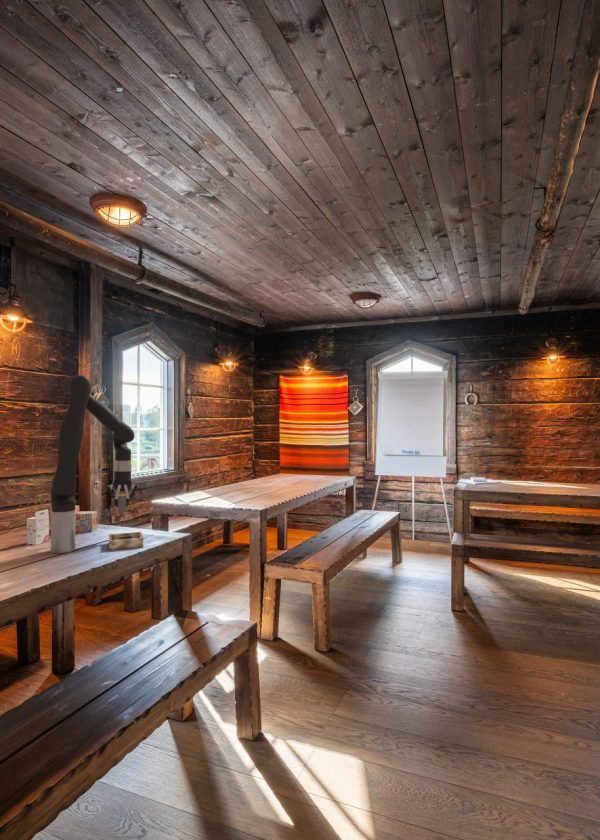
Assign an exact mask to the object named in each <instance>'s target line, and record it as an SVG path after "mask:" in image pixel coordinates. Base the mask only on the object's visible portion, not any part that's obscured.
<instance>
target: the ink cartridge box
mask: <svg viewBox="0 0 600 840" xmlns="http://www.w3.org/2000/svg"><path fill="white" fill-rule="evenodd" d="M34 515H35V516H32V517H28V518H26V545H29V544H32V546H36V545H39V544H43V543H46V542H49V541H50V514H49V510H48V508H47V509H44V510H39V511H35V512H34ZM45 541H46V542H45ZM42 542H43V543H42Z"/></svg>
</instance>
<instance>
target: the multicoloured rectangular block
mask: <svg viewBox="0 0 600 840" xmlns="http://www.w3.org/2000/svg"><path fill="white" fill-rule="evenodd" d="M49 511H50V512H49V532H50V531H51V530H52V507H50V509H49ZM96 530H98V511H97V510H96V511H92V510H91V511H89V510H87V511H81V506H80V505H76V533H79V532H81V533H84V532H85V533H90V532H95V531H96Z"/></svg>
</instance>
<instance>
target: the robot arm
mask: <svg viewBox="0 0 600 840" xmlns="http://www.w3.org/2000/svg"><path fill="white" fill-rule="evenodd" d="M61 386H62V389H63V391H64V393H65V394H66V395H68V396H69V405H68V407H67V410H66V412H65V415H64V417H63V419H62V421H61V423H60V426H59V432H58V436H57V439H58V440H57V467H56V472H55V474H54V476H53V477H52V479H51V481H50V504H51V507H52V530H51V532H50V554H66V553H67V554H68V553H72V552H73V551H75V550H76V547H77V545H76V533H77V532H76V506H77V505H76V487H77V467H78V460H79V455H80V452H81V447H82V441H83V435H84V427H85V420H86V414H87V413H86V411H88V412H89V413H90V414H91V415H92V416H93V417H94V418H95V419H97V420H98V421H99V422H100V424H101V425H102V426H103V427H104V428H105V429H107V430H109V431H111V432H113V433H112V442H113V447H114V452H115V453H114V454H115V455H114V458H115V459H114V466H113V482H112V484H109V485H106V486H107V488H106V489H107V491H108V493H109V496H110V498H111V499H114V506H115V507H116V508H117V507H118V493H119V492H125V493H126V508H128V506H130V505H129V504H130V499H131V498H134V496H135V493H136V490H137V489H138V485H137V484H134V483H133V482H132V450H131V448H130V447H129V446H128V443H131V442H133V441H134V439H135V432H134V430H133V429H132V427H130V426H129V425H128V424H127V423H125V422H124V421H123V420H121V419H120V418H119V417H118V416H117V415H116V414H115V413H114V412H113V411H112V410H111V409H110V408H109V407H107V406H106V405H105V404H104V403H102V402H101V401H99V400H98V399H97V398H96V397H94V396H93V395H92V394H91V391H92V384H91V381H90V379H89V378H88V377H87V376H85V375H82V374H81V375H79V374H77V375H70V376H67V377H66V378H64V379H63V381H62V385H61ZM113 487H114V488H113ZM130 488H131V489H132V490H131V493H130V494H129V490H130ZM113 489H115V490H116V491H115V494H113ZM51 507H50V508H51Z"/></svg>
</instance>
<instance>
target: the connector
mask: <svg viewBox="0 0 600 840" xmlns="http://www.w3.org/2000/svg"><path fill="white" fill-rule="evenodd" d="M116 509H117V510H116V511H117V513H126V512H127V507H126V493H125V492H123V491H122V492H119V493H118V507H116Z"/></svg>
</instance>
